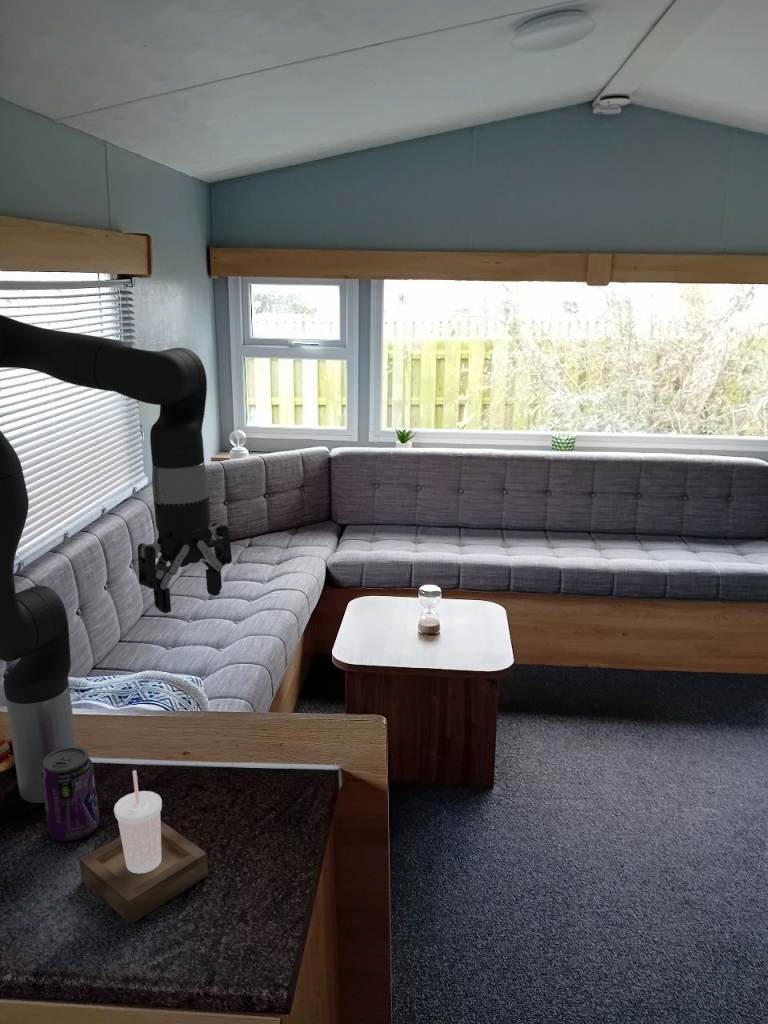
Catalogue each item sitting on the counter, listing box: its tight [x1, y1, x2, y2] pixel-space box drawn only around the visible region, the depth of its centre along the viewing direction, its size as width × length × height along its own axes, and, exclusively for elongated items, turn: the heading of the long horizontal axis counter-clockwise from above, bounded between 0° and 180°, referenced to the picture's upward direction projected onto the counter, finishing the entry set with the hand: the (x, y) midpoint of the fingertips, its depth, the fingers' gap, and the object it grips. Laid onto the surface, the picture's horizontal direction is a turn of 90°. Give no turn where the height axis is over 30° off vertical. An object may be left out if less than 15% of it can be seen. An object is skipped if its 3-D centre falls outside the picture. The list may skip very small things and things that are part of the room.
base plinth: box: [78, 819, 209, 925], centre depth 115 cm, size 12×12×4 cm
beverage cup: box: [113, 769, 163, 874], centre depth 113 cm, size 6×6×14 cm
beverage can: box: [41, 746, 100, 842], centre depth 124 cm, size 7×7×12 cm
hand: (189, 602), depth 123 cm, fingers open, 8 cm apart
